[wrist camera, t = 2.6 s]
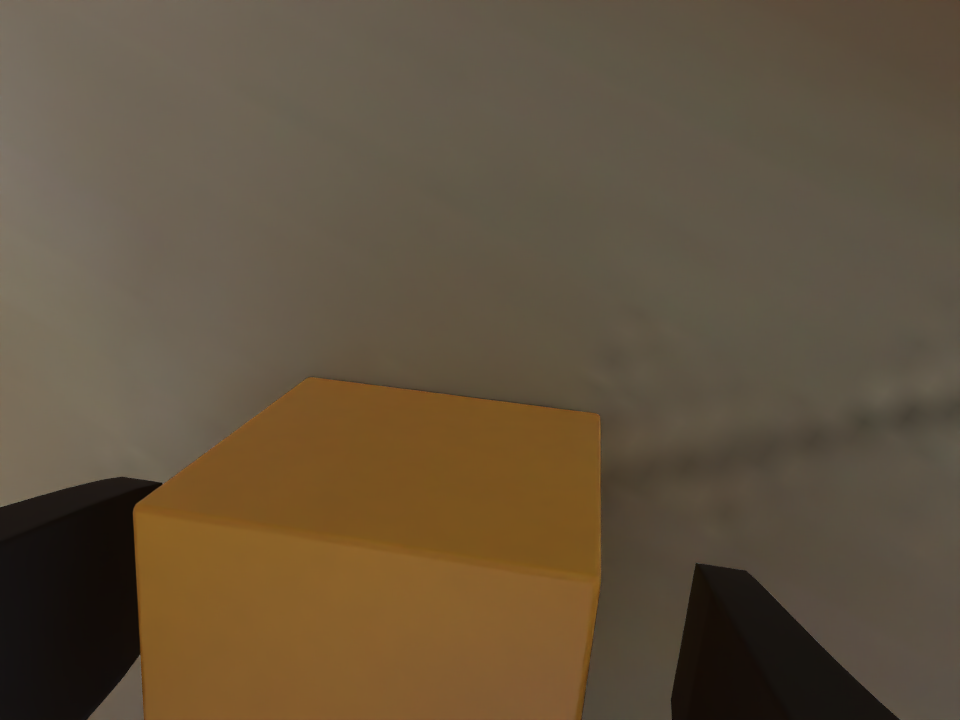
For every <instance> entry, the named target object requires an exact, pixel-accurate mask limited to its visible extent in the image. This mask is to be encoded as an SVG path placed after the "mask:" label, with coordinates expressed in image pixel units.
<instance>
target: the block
mask: <svg viewBox="0 0 960 720" xmlns="http://www.w3.org/2000/svg"><path fill="white" fill-rule="evenodd" d="M133 526H134V544H135V563H136V582H137V601H138V619H139V638H140V657H141V676H142V694H143V713H144V720H582V713H583V706H584V699H585V692H586V685H587V678H588V671H589V664H590V657H591V650H592V643H593V636H594V629H595V622H596V615H597V608H598V601H599V594H600V587H601V418H600V415H598V414H596V413H589V412H581V411H574V410H566V409H558V408H550V407H542V406H534V405H527V404H519V403H511V402H503V401H495V400H487V399H480V398H472V397H464V396H456V395H448V394H440V393H432V392H425V391H417V390H409V389H401V388H393V387H385V386H378V385H370V384H362V383H354V382H346V381H338V380H331V379H323V378H315V377H308V378H306V379H305V380H303V381H302V382H301V383H299V384H298V385H296V386H295V387H294V388H292V389H291V390H290V391H288V392H287V393H286V394H284V395H283V396H282V397H280V398H279V399H278V400H276V401H275V402H273V403H272V404H271V405H269V406H268V407H267V408H265V409H264V410H263V411H261V412H260V413H259V414H257V415H256V416H255V417H253V418H252V419H250V420H249V421H248V422H246V423H245V424H244V425H242V426H241V427H240V428H238V429H237V430H236V431H234V432H233V433H232V434H230V435H229V436H227V437H226V438H225V439H223V440H222V441H221V442H219V443H218V444H217V445H215V446H214V447H213V448H211V449H210V450H208V451H207V452H206V453H204V454H203V455H202V456H200V457H199V458H198V459H196V460H195V461H194V462H192V463H191V464H190V465H188V466H187V467H185V468H184V469H183V470H181V471H180V472H179V473H177V474H176V475H175V476H173V477H172V478H171V479H169V480H168V481H167V482H165V483H164V484H162V485H161V486H160V487H158V488H157V489H156V490H154V491H153V492H152V493H150V494H149V495H148V496H146V497H145V498H144V499H142V500H141V501H139V502H138V503H137V504H136V505H135V507H134V509H133Z"/></svg>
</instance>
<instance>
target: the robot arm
mask: <svg viewBox="0 0 960 720" xmlns="http://www.w3.org/2000/svg"><path fill="white" fill-rule="evenodd" d="M161 485H162V483H161V482H154V481H148V480H141V479H134V478H128V477H117V478H110V479H104V480H99V481H95V482H90V483H86V484H82V485H78V486H74V487H70V488H66V489H63V490H59V491H56V492H52V493H48V494H45V495H41V496H38V497H34V498H31V499H27V500H24V501H20V502H17V503H14V504H10V505H7V506H3V507H0V720H87V719H88V718H89V717H90V715H91V714H92V713H93V712H94V711H95V710H96V708H97V707H98V706H99V705H100V704H101V703H102V702H103V700H104V699H105V698H106V697H107V696H108V695H109V694H110V692H111V691H112V690H113V689H114V688H115V687H116V685H117V684H118V683H119V682H120V681H121V679H122V678H123V677H124V676H125V675H126V673H127V672H128V670H129V669H130V668H131V666H132V665H133V663H134V662H135V660H136V659H137V658H138V656H139V655H140V638H139V619H138V601H137V582H136V563H135V544H134V526H133V509H134V507H135V505H136V504H137V503H138V502H139V501H141V500H142V499H144V498H145V497H146V496H148V495H149V494H150V493H152V492H153V491H154V490H156V489H157V488H158V487H160V486H161ZM671 710H672V720H900V719H899V718H898V717H897V716H895V715H894V714H893V713H892V712H891V711H890V710H889V709H888V708H886V707H885V706H884V705H883V704H882V703H881V702H880V701H879V700H878V699H876V698H875V697H874V696H873V695H872V694H871V693H870V692H869V691H868V690H867V689H866V688H865V687H864V686H862V685H861V684H860V683H859V682H858V681H857V680H856V679H855V678H854V677H853V676H852V675H851V674H850V673H849V672H848V671H847V670H846V669H845V668H844V667H842V666H841V665H840V664H839V663H838V662H837V661H836V660H835V659H834V658H833V657H832V656H831V655H830V654H829V653H828V652H827V651H826V650H825V649H824V648H823V647H822V646H821V645H820V644H819V643H818V642H817V641H816V640H815V639H814V638H813V637H812V636H811V635H810V634H809V633H808V632H807V631H806V630H805V629H804V628H803V627H802V626H801V625H800V624H799V623H798V622H797V621H796V620H795V619H794V618H793V617H792V616H791V615H790V613H789V612H788V611H787V610H786V609H785V608H784V607H783V606H782V605H781V604H780V603H779V602H778V601H777V600H776V599H775V598H774V597H773V596H772V595H771V594H770V593H769V592H768V591H767V590H766V589H765V588H764V587H763V586H762V585H761V584H760V583H759V582H758V581H757V580H756V579H755V578H754V577H753V576H752V575H750V574H749V573H748V572H747V571H745V570H739V569H732V568H726V567H719V566H712V565H706V564H699V563H696V564H695V570H694V575H693V581H692V586H691V592H690V597H689V603H688V608H687V614H686V619H685V625H684V630H683V636H682V641H681V647H680V652H679V658H678V663H677V669H676V674H675V680H674V685H673V691H672V697H671Z"/></svg>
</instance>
